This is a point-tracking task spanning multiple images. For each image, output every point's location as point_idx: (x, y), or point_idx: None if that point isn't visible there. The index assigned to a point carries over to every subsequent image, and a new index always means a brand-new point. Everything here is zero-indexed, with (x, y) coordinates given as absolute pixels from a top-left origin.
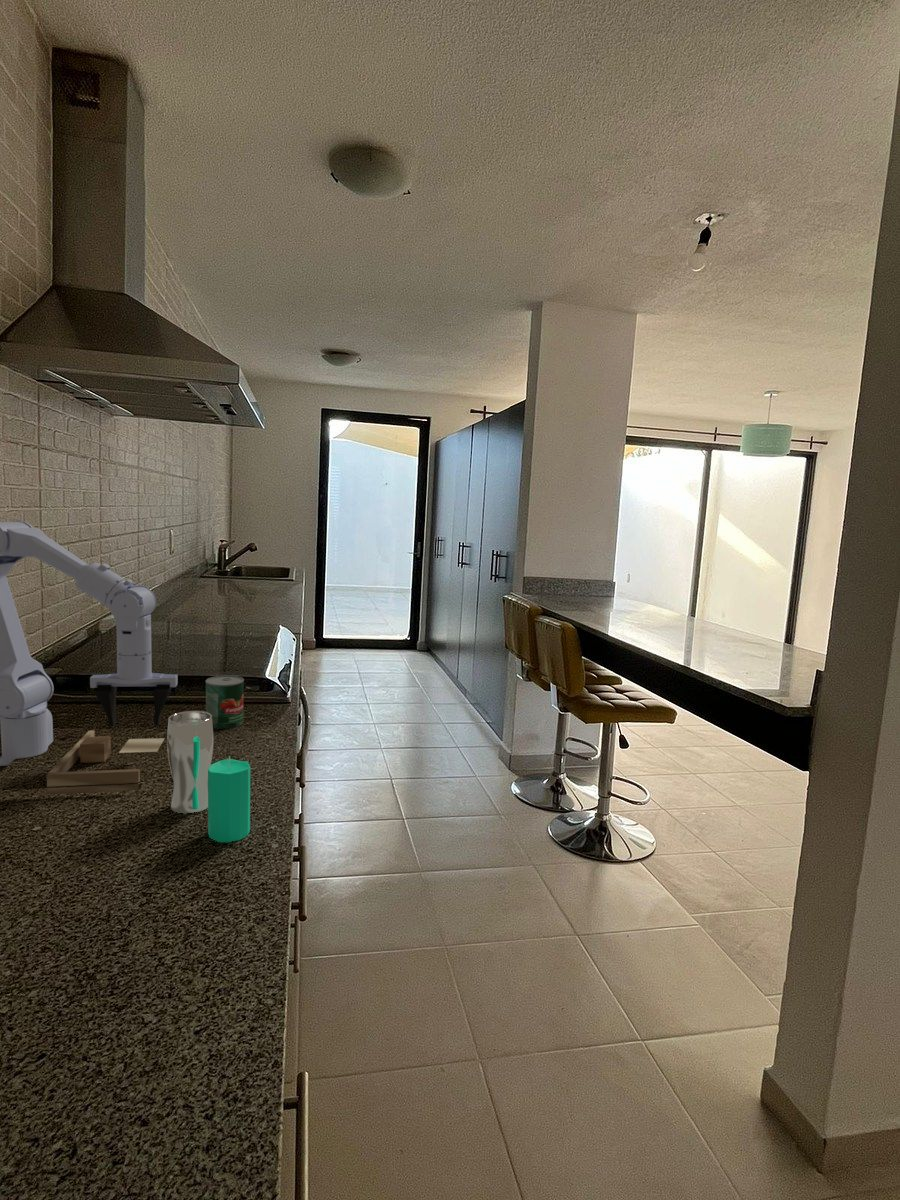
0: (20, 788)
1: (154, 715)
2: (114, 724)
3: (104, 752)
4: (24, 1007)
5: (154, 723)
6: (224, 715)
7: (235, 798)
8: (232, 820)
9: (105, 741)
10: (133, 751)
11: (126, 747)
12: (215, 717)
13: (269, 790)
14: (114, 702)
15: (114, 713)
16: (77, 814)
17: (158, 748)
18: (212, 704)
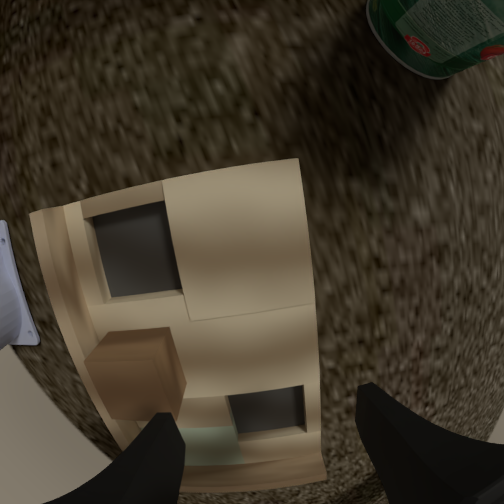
0: (95, 435)
1: (372, 460)
2: (180, 435)
3: (181, 400)
4: None
5: (359, 428)
6: (474, 61)
7: None
8: None
9: (168, 405)
10: (234, 308)
11: (192, 271)
12: (446, 54)
13: (499, 392)
14: (144, 496)
15: (165, 463)
16: (249, 499)
17: (311, 273)
18: (463, 28)
